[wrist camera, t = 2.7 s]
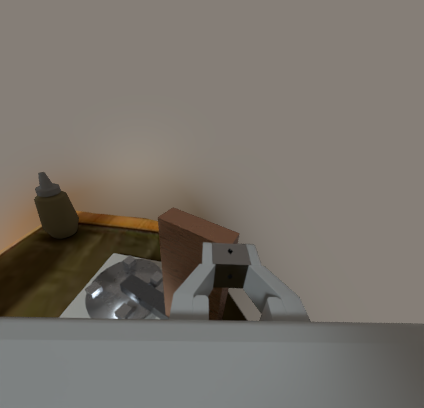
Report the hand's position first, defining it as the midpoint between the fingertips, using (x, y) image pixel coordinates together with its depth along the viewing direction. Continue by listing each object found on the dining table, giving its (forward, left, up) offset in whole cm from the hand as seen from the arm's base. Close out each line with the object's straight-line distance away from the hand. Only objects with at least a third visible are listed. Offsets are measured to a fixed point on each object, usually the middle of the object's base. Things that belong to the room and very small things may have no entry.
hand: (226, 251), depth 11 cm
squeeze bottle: (-45, +27, -30) cm, 60 cm away
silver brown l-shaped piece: (-11, +9, -27) cm, 30 cm away
